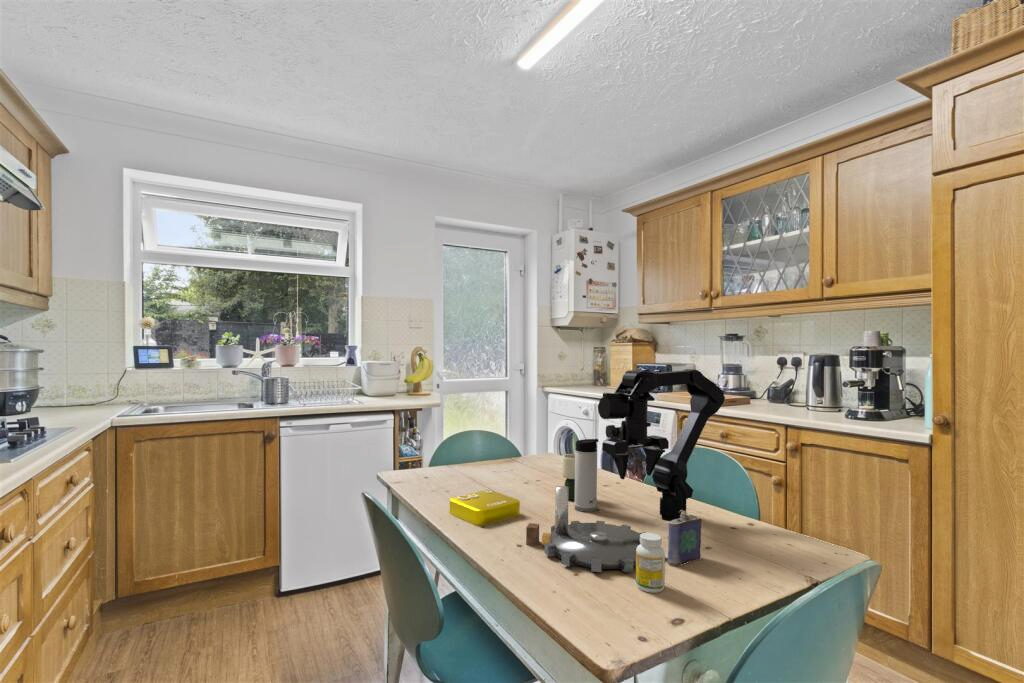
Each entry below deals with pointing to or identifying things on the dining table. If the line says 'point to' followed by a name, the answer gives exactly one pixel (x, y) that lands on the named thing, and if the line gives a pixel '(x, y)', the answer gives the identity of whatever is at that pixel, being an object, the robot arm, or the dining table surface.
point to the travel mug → (586, 475)
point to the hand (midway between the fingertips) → (635, 477)
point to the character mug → (569, 473)
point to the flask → (684, 539)
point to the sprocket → (590, 540)
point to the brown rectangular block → (532, 534)
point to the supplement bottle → (650, 563)
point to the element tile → (484, 507)
